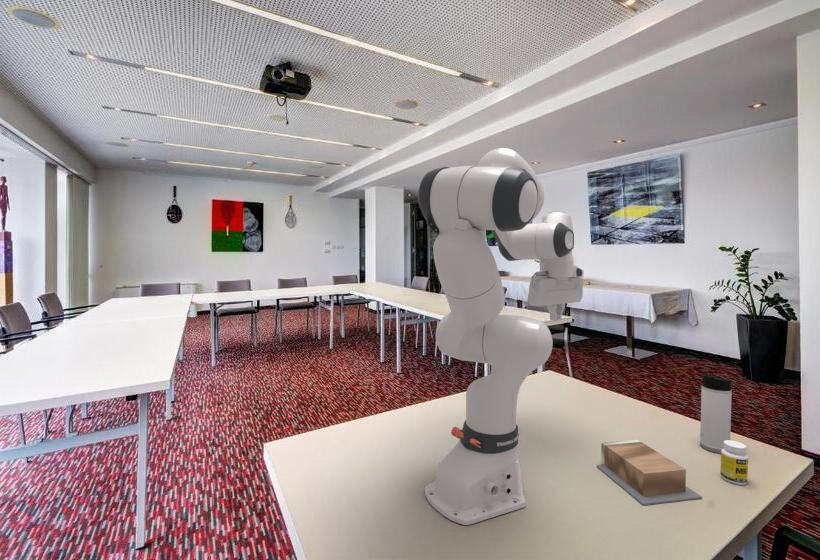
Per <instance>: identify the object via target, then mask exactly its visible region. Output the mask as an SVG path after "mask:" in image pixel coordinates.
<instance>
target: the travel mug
mask: <svg viewBox="0 0 820 560" xmlns="http://www.w3.org/2000/svg"><path fill="white" fill-rule="evenodd" d="M732 383H733V381H732V379H730V378H723V377H721V376H719V375H713V374H705V373H703V374H702V375H701V395H700V396H701V397H700V398H701V399H700V400H701V401H700V433H699V436H700V437H699V438H700V439H699V446H700V447H701V448H703V449H704V450H706V451H708V452H712V453H714V454H715V453H716V454H720V455H721V450H722V449H723V448H724V441H725V440H731V432H732V431H731V429H732V428H731V427H732V426H731V425H732V398H733V397H732V391H733V389H732V386H733V384H732Z"/></svg>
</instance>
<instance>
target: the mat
mask: <svg viewBox="0 0 820 560" xmlns="http://www.w3.org/2000/svg"><path fill="white" fill-rule="evenodd" d="M596 468H597V469H598V470H600V471H601V472H602V473H603V474H605V475H606V476H607V477H608V478H610V479H611V481H613V482H614V483H615V484H616V485H618V486H619V487H620V488H621V489H623V491H625V492H626V493H628V494H629V495H630V496H631V497H632V498H633V499H634V500H636V501H637V502H638V503H639V504H640V505H642V506H643V507H644V506H651V505H662V504H669V503H670V504H671V503H676V502H685V501H694V500H702V499H703V496H701V495H700V494H699V493H697V492H695V491H694V490H693V489H691V487H690V488H689V487H688V486H687V485H686V489H685V492H680V493H672V494H663V495H654V496H646V497H644V496H643V495H642V494H640V493H639V492H638V491H637V490H635V489H634V488H633V487H632V486H630V485H629V484H628V483H627V482H625V481H624V480H623V479H621V478H620V477H619V476H618V475H616V474H615V473H614V472H613V471H611V470H610V469H609V468H608V467H606V466H605V465H604V464H597V465H596Z"/></svg>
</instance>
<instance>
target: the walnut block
mask: <svg viewBox="0 0 820 560" xmlns="http://www.w3.org/2000/svg"><path fill="white" fill-rule="evenodd" d="M600 445H601V446H600V447H601V453H600V456H601V457H600V462H601V464H602V465H605V466H606V467H608V468H609V469H610V470H611V471H613V472H614V473H615V474H616V475H618V476H619V477H620V478H621V479H623V480H624V481H625V482H627V483H628V484H629V485H630V486H632V487H633V488H634V489H635V490H637V491H638V492H639V493H640V494H642V495H643V496H644V497H646V496H654V495H663V494H672V493H680V492H685V489H686V486H687V485H686V483H687V482H686V479H687V478H686V477H687V469H686V468H685V467H683V466H681V465H679V464H678V463H676V462H675V461H673V460H671V459H670V458H668V457H667V456H665V455H663V454H662V453H660V452H659V451H656V450H655V448H652V447H650V446H649V445H648V444H645V443H644V442H642V441H640V440H639V439H629V440H628V439H627V440H619V441H617V440H616V441H607V442H606V441H605V442H601V444H600Z"/></svg>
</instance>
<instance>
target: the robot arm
mask: <svg viewBox="0 0 820 560" xmlns="http://www.w3.org/2000/svg"><path fill="white" fill-rule="evenodd" d="M417 201H418V205H419V208H420V211H421V214H422V216H423V217H424V219H425V221H426V225H427V227H428V229H429V230H430V231H433V232H434V233H435V234H437V236H436V237H435V240H434V243H433V248H432V252H433V261H434V265H435V269H436V273H437V277H438V279H439V282H440V285H441V288H442V290H443V292H444V295H445V298H446V300H447V303H448V306H449V308H450V310H449V311H450V312H449V313H448V314H445V315H444V316H443V317H442V318H441V319H440V321H439V322H438V324H437V327H436V330H435V342H436V345H437V347H438V349H439V351H440V352H441V354H443V355H446V356H448V357H451V358H454V359H456V360H460V361H463V362H464V361H466V362H475V363H481V364H488V365H490V366H491V367H490V368H491V370H490V374H488V375H484V376H482V377H480V378H477V379H475V380H474V381H472V382H471V383H470V384H469V385H468V386H467V388H466V392H465V420H464V423H463V426H462V429H460V428H458V427H457V426H453V427H452V428H451V430H450V434H451V435H452V436H453V437H455V438H456V439H459V441H458V442H457V443H456V444H455V446H454V447H453V448H451V450H450V451H449V453H447V455H446V456H445V457H444V458H443V459H442V460H441V461H440V463H438V465H437V468H436V472H435V473H436V474H435V479H434V480H433V481H432V482H430V483H429V484H428V483H427V485H425V487H424V496H425V498H426V500H427V502H428V503H429V504H430V505H431V506H432V507H433V508H434V509H435V510H436V511H437V512H438V513H440V514H441V515H442V516H444V517H445V518H447V519H449V520H450V521H453V522H454V523H457V524H459V525H460V524H461V525H463V526H470V525H472V524H476V523H479V522H482V521H485V520H488V519H491V518H495V517H498V516H501V515H504V514H507V513H510V512H514V511H517V510H521V509H524V508H525V507H526V506H527V502H526V498H525V496H524V491H525V490H524V485H523V481H522V474H521V473H522V471H521V465H520V459H519V455H518V449H517V448H518V447H517V446H518V444H519V426H518V424H517V407H518V397H519V394H520V393H519V392H520V390H521V386H522V384H523V383H524V381H525V380H526V379H527V377H529V375H530V374H531V373H532V372H534V371H535V370H537V369H539V367H541V366H542V365H544V364H545V363H546V362H547V361H548V360H549V358H550V356H551V354H552V351H553V346H554V345H553V343H554V341H553V336H552V332H551V331H550V328H549V327H548V326H547V324H546V323H545V322H544V321H542V320H538V319H535V318H531V317H527V316H525V315H524V316H523V315H512V314H500V313H501V312H502V311H503V309H504V307H505V304H506V294H505V290H504V285H503V284H502V283H503V282H502V279H501V275H500V272H499V269H498V265H497V262H496V259H495V257H494V254H493V252H492V250H491V248H490V245H489V244H488V241H487V239H486V235H487V234H486V233H487V231H491V233H492V235H493V237H494V239H495V241H496V243H497V247H498V250H499V253H500V255H501V256H502V257H503V258H504V259H505V260H507V261H508V262H514V261H521V260H522V261H524V260H525V261H526V260H527V261H528V260H531V261H532V260H533V261H534V260H539V271H535V272H534V273H533V275H532V276H531V278H530V282H529V286H528V287H529V288H528V294H527V295H528V298H527V302H528V304H529V305H530V306H533V307H546V309H547V311H548V314H549V320H550V321H555V322H556V321H560V320H562V319H563V318H562V317H563V316H562V314H563V313H564V312H563V311H564V310H565V306H566V304H574V303H580V302H581V301H582V299H583V288H584V287H583V285H584V283H583V277H584V273H585V272H584V270H583V269H582V268H581V267H579V266H577V265H575V264H574V256H573V250H574V248H575V247H574V246H575V234H574V226H573V225H574V224H573V220H572V216H571V214H569V213H567V212H562V211H551V212H547V213H544V215H543V216H542V218H541V222H534V223H531V222H532V221H533V220H534V219H535V218H537V216H539V214H540V212H541V210H542V209H543V207H544V206H543V205H544V202H545V193H544V188H543V185H542V182H541V181H540V179H539V177H538V176H537V174H536V173H535V171H534V170H533V168H532V166H531V165H530V164H529V163H528V162H527V161H526V159H525V158H523V157H522V155H520V154H519V153H518V152H517V151H515V150H513V149H512V148H507V147H498V148H495V149H492V150H490V151H488V152H487V153H486V154H484V155H483V156H482V157H481V158H480V160H479V161H478V164H477V165H462V166H461V165H459V166H453V167H448V166H443V167H438V168H435V169H432V170H430V171H428V172H427V173H426V174H425V175H424V176H423V178H422V179H421V182H420V184H419V187H418V193H417Z"/></svg>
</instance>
